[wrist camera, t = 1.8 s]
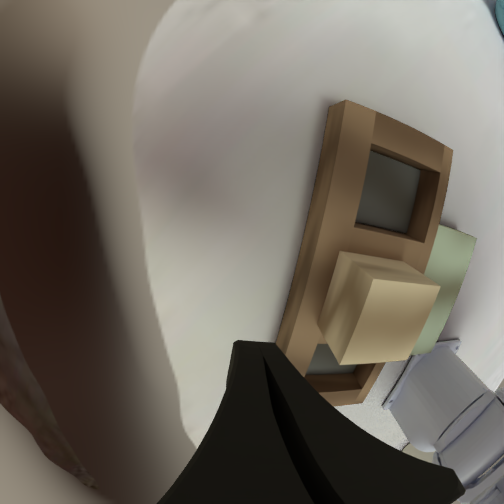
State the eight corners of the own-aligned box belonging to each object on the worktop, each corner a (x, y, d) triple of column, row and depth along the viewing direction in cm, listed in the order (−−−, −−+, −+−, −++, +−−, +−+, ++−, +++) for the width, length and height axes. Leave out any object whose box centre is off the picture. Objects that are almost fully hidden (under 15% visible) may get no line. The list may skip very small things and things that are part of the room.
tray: (394, 380, 24) (404, 395, 21) (262, 388, 21) (266, 409, 19) (469, 170, 17) (489, 174, 15) (329, 106, 15) (345, 99, 12)
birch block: (378, 326, 17) (407, 359, 14) (317, 324, 17) (339, 364, 13) (403, 261, 16) (440, 286, 12) (339, 250, 15) (373, 278, 11)
